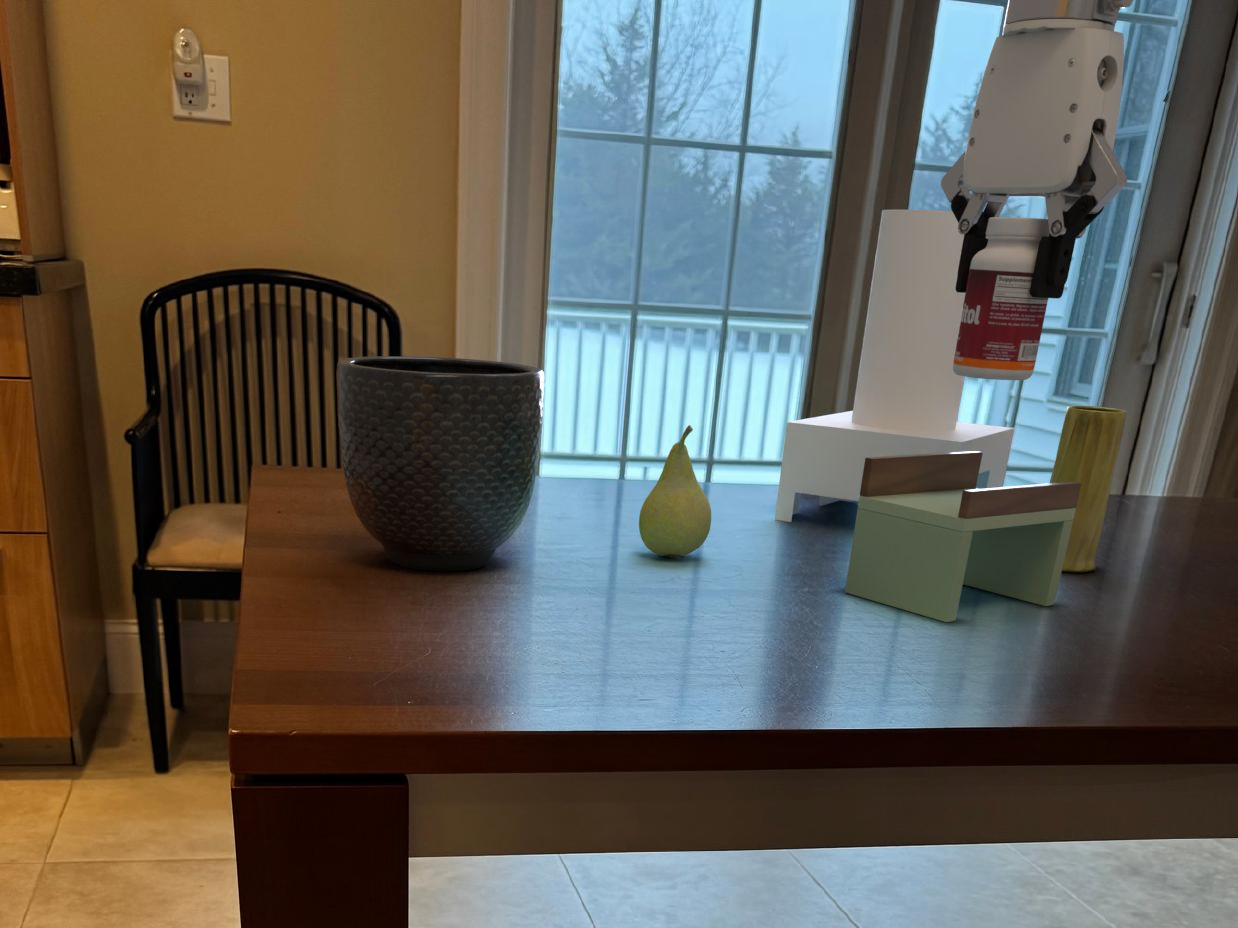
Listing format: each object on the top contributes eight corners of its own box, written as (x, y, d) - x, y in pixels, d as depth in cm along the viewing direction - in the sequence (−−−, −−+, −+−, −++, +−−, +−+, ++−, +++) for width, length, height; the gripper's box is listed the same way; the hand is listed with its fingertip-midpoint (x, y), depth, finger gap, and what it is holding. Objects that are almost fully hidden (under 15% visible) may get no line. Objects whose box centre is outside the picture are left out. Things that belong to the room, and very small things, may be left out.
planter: (328, 578, 106) (322, 367, 99) (353, 537, 121) (349, 352, 114) (537, 587, 107) (546, 378, 99) (535, 545, 122) (543, 362, 115)
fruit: (700, 550, 124) (714, 416, 118) (715, 567, 117) (730, 427, 111) (631, 548, 123) (641, 413, 118) (642, 565, 116) (654, 423, 111)
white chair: (774, 519, 141) (813, 205, 127) (839, 499, 155) (881, 214, 141) (943, 545, 132) (1005, 210, 118) (995, 521, 146) (1056, 220, 132)
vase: (1025, 568, 123) (1060, 408, 117) (1030, 556, 128) (1063, 403, 122) (1093, 576, 121) (1132, 414, 115) (1095, 564, 126) (1132, 408, 120)
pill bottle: (946, 372, 105) (972, 218, 100) (1024, 376, 104) (1055, 221, 99) (956, 377, 100) (985, 215, 95) (1038, 382, 99) (1072, 219, 94)
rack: (1054, 605, 110) (1085, 469, 105) (946, 622, 103) (973, 478, 98) (951, 577, 118) (975, 450, 113) (844, 592, 110) (865, 457, 105)
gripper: (1205, 7, 87) (1136, 303, 95) (994, 31, 99) (949, 290, 107) (1141, -10, 83) (1074, 300, 91) (930, 17, 95) (888, 288, 104)
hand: (1007, 292), depth 99 cm, fingers closed on pill bottle, 6 cm apart
